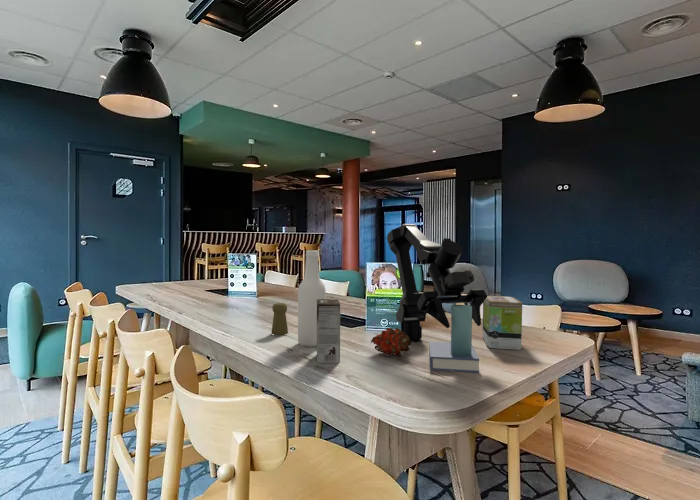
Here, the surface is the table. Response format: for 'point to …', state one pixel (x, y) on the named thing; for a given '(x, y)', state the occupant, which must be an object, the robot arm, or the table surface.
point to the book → (451, 359)
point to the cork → (279, 319)
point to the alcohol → (309, 300)
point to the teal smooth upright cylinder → (461, 330)
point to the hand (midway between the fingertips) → (464, 326)
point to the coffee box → (328, 331)
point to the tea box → (502, 322)
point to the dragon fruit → (392, 342)
